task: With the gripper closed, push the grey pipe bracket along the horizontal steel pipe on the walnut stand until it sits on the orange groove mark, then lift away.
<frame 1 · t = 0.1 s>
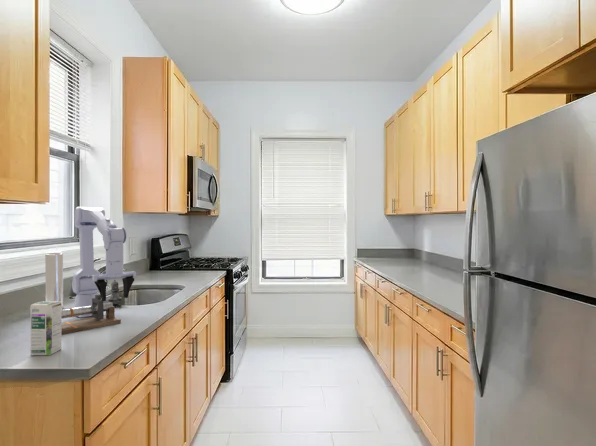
hand: (114, 299, 137), 10 cm above the worktop, fingers open, 7 cm apart
pipe stand: (83, 325, 139), on the worktop
syrup box: (46, 353, 111), on the worktop
grey pipe bracket: (97, 306, 143), point 6 cm above the worktop, slide at 0.0 cm
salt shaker: (115, 306, 171), on the worktop
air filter: (54, 309, 166), on the worktop
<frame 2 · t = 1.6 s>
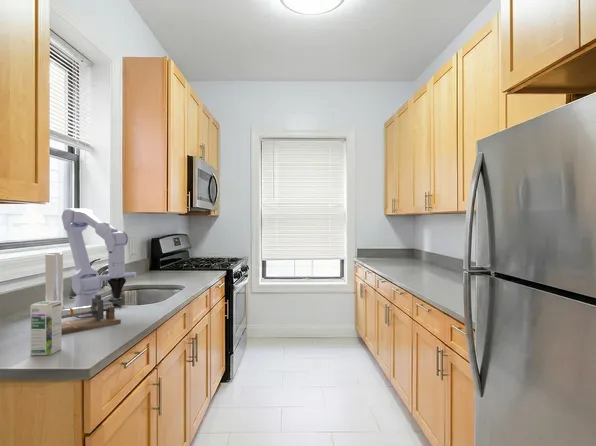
hand: (116, 297, 148), 8 cm above the worktop, fingers closed
nothing on the worktop moved.
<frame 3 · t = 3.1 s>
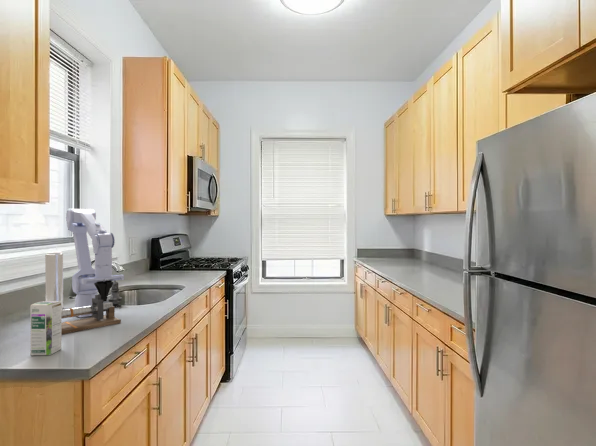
hand: (103, 301, 144), 8 cm above the worktop, fingers closed
grey pipe bracket: (97, 306, 143), point 6 cm above the worktop, slide at 0.0 cm, touching gripper
everything else where it was.
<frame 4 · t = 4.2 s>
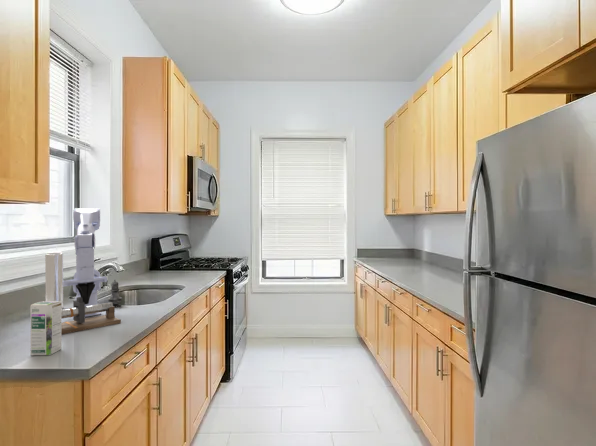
hand: (85, 303, 140), 8 cm above the worktop, fingers closed
grey pipe bracket: (79, 309, 138), point 6 cm above the worktop, slide at 6.3 cm, touching gripper
everything else where it was.
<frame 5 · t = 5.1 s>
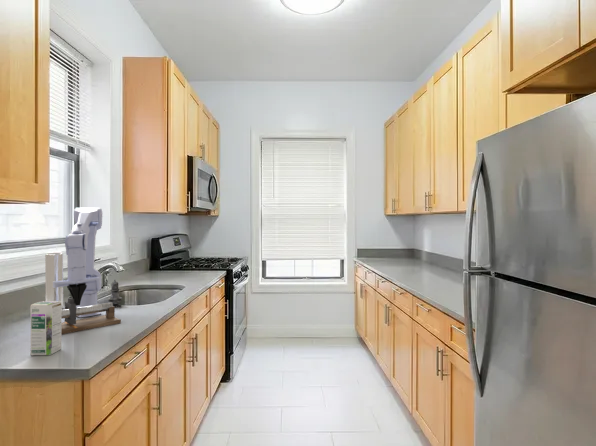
hand: (77, 305, 138), 8 cm above the worktop, fingers closed
grey pipe bracket: (70, 310, 136), point 6 cm above the worktop, slide at 9.1 cm, touching gripper
everything else where it was.
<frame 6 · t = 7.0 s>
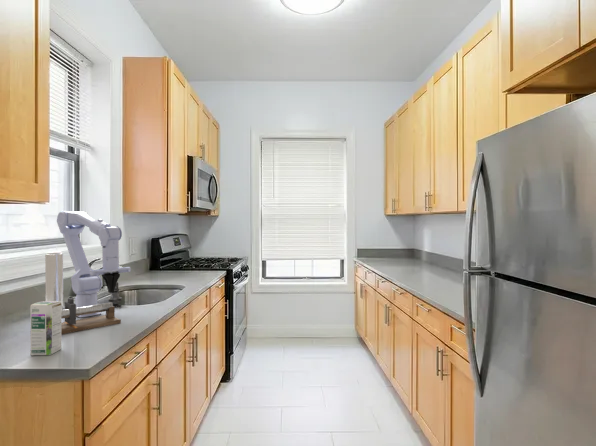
hand: (111, 292, 149), 10 cm above the worktop, fingers closed
grey pipe bracket: (70, 310, 136), point 6 cm above the worktop, slide at 9.2 cm
everything else where it was.
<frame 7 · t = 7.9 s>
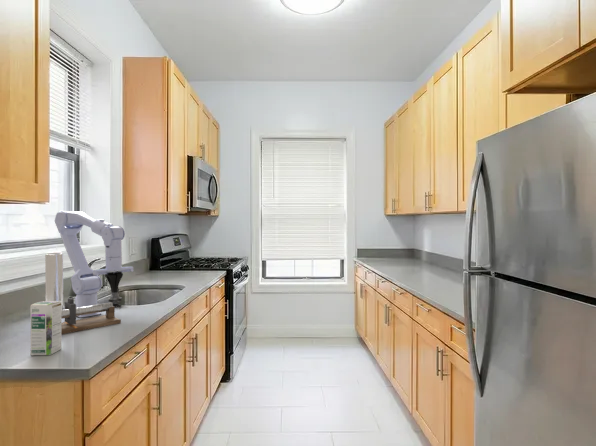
hand: (114, 291, 150), 10 cm above the worktop, fingers closed
nothing on the worktop moved.
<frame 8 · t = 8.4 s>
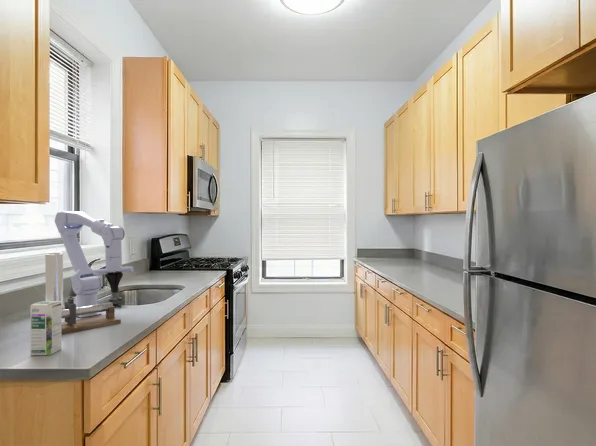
hand: (114, 291, 150), 10 cm above the worktop, fingers closed
nothing on the worktop moved.
at the end: grey pipe bracket slide at 9.2 cm; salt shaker moved 0.2 cm from its start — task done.
